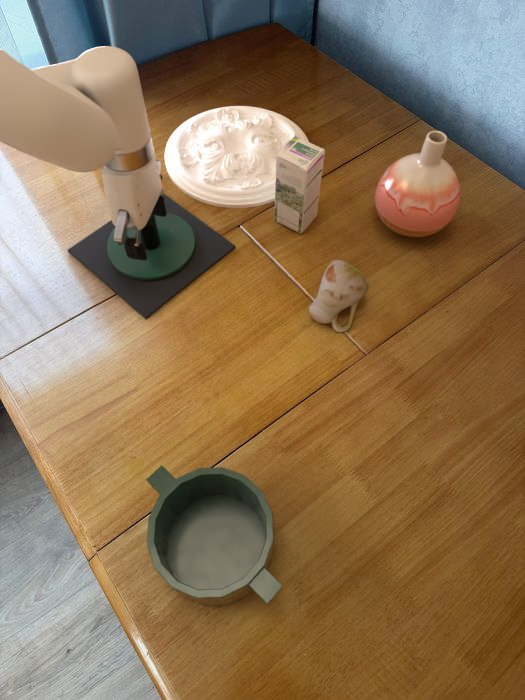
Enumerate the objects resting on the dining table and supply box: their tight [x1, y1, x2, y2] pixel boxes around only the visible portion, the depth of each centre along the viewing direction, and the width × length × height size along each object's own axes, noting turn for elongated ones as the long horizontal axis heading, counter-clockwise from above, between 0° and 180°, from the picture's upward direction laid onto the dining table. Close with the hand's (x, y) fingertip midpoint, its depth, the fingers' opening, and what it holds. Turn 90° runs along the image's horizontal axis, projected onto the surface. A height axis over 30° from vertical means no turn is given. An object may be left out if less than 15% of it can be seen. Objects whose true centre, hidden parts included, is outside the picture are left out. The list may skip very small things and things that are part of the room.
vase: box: [374, 130, 462, 238], centre depth 85 cm, size 14×14×18 cm
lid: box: [107, 212, 195, 280], centre depth 86 cm, size 15×15×7 cm
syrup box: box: [274, 136, 326, 235], centre depth 87 cm, size 6×6×14 cm
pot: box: [145, 465, 284, 607], centre depth 61 cm, size 14×19×10 cm
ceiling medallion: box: [164, 105, 310, 209], centre depth 100 cm, size 28×28×3 cm
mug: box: [308, 259, 370, 333], centre depth 81 cm, size 8×10×10 cm
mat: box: [67, 193, 237, 320], centre depth 89 cm, size 20×20×1 cm
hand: (148, 235), depth 86 cm, fingers open, 9 cm apart
